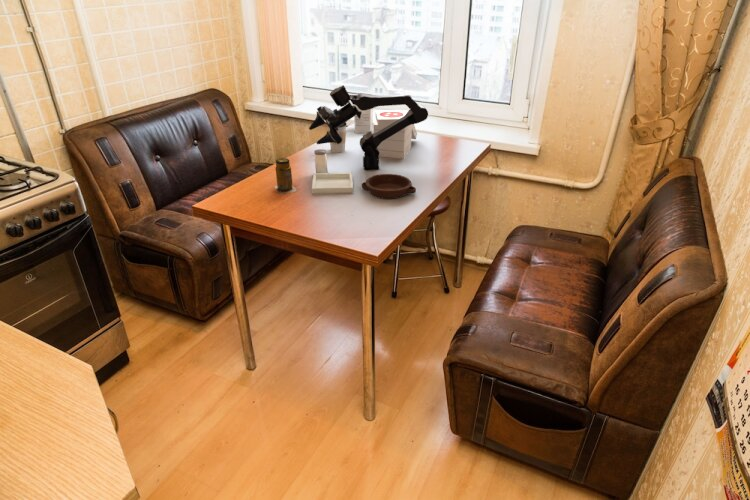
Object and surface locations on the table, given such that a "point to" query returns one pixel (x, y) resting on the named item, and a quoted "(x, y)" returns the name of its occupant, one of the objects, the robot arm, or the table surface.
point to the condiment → (284, 176)
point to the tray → (332, 183)
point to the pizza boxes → (398, 142)
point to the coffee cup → (341, 146)
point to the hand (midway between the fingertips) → (313, 136)
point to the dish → (388, 186)
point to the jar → (320, 161)
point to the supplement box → (364, 121)
